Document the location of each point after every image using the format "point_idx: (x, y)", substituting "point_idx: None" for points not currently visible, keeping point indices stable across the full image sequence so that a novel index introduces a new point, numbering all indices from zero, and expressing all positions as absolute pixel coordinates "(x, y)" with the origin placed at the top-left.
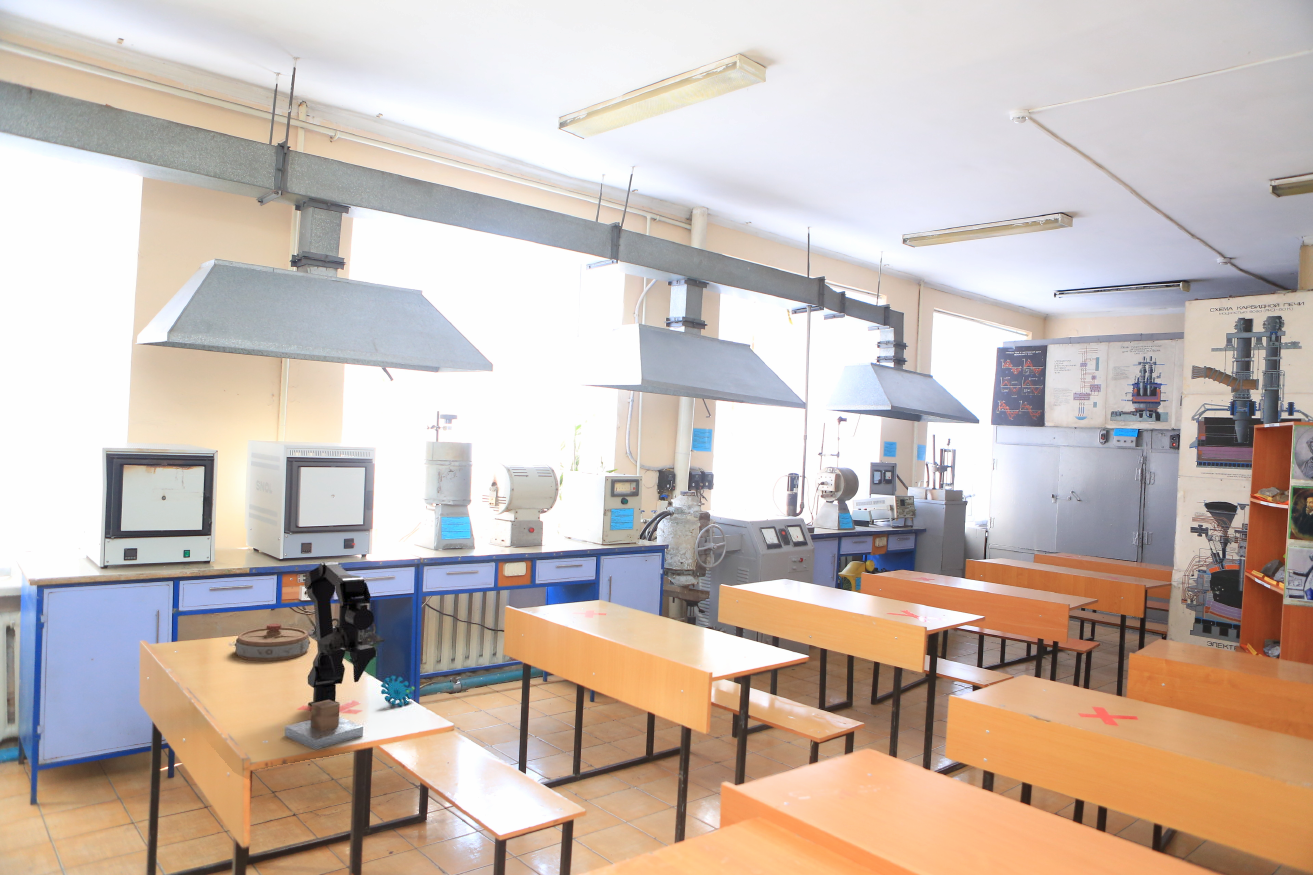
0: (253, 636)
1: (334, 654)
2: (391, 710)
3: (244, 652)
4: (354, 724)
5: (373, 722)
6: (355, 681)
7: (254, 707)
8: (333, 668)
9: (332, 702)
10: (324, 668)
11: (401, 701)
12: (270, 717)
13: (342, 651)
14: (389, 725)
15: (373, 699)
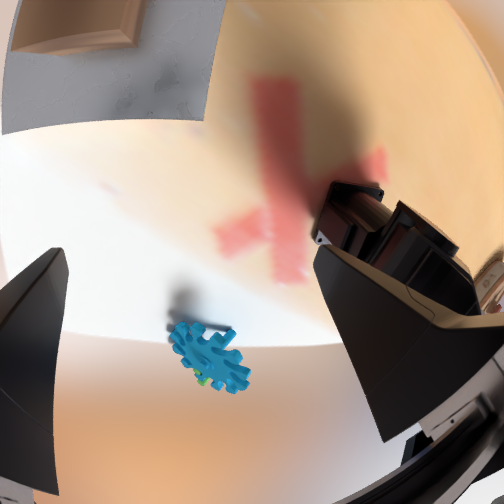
0: (502, 288)
1: (434, 360)
2: (160, 305)
3: (500, 264)
4: (33, 116)
5: (98, 219)
6: (51, 253)
7: (451, 110)
8: (362, 265)
9: (57, 24)
10: (421, 264)
11: (177, 341)
12: (395, 60)
13: (392, 414)
14: (48, 238)
15: (268, 313)
